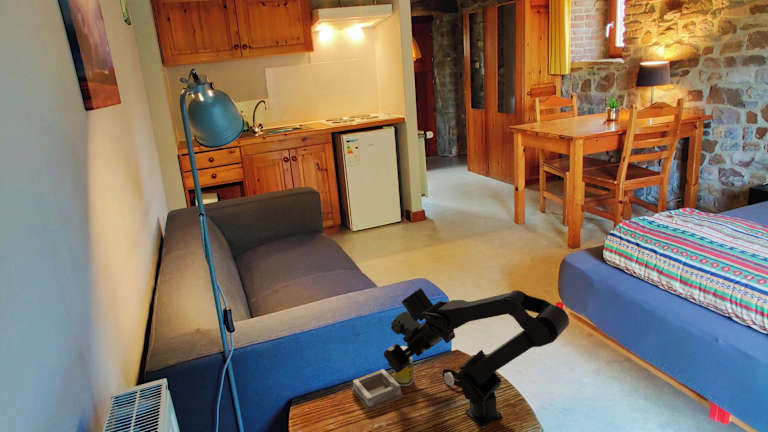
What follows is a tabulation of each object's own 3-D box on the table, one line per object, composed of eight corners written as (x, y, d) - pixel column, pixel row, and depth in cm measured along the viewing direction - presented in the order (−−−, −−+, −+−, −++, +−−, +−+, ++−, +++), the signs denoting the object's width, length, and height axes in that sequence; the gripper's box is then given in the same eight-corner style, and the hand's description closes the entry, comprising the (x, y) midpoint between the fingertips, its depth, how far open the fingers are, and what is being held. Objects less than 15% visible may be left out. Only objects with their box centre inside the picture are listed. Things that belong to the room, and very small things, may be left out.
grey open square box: (402, 397, 130) (401, 385, 129) (368, 411, 125) (367, 399, 125) (384, 378, 138) (383, 367, 137) (352, 391, 134) (351, 380, 133)
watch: (438, 379, 136) (437, 367, 135) (451, 372, 139) (450, 361, 138) (456, 392, 130) (456, 380, 129) (470, 385, 132) (469, 373, 132)
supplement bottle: (412, 387, 134) (410, 355, 131) (393, 386, 135) (390, 354, 132) (415, 375, 139) (413, 344, 136) (396, 375, 140) (393, 344, 137)
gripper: (430, 294, 134) (402, 320, 145) (385, 322, 121) (358, 349, 131) (456, 328, 131) (425, 352, 142) (413, 360, 118) (382, 384, 128)
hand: (398, 358), depth 136 cm, fingers open, 8 cm apart
